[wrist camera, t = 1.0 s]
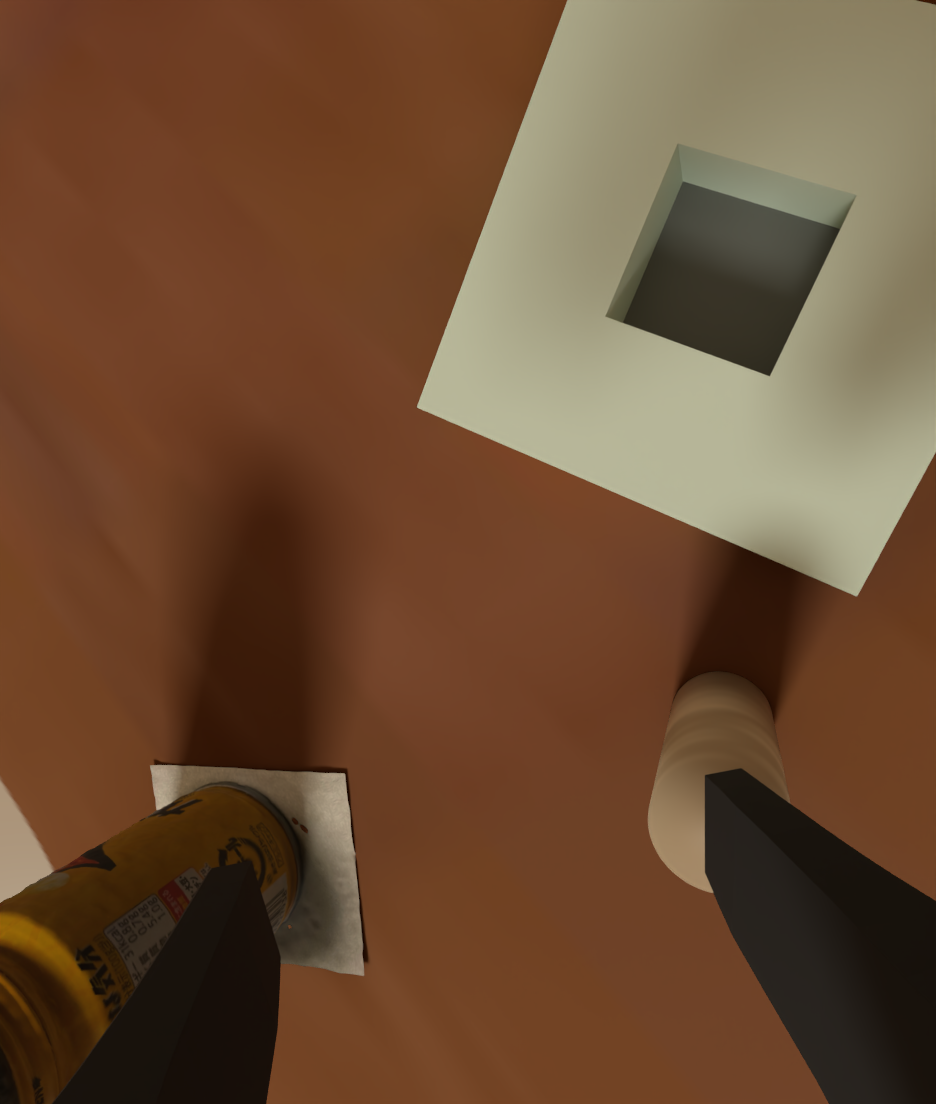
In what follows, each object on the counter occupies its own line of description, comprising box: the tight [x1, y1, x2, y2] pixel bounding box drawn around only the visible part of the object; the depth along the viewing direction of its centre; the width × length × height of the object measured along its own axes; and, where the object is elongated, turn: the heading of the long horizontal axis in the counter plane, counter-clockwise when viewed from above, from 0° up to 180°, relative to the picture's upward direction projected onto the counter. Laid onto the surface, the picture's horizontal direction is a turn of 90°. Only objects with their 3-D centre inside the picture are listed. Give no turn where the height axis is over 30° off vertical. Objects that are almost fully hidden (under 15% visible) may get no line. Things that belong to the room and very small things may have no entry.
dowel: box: [648, 671, 790, 893], centre depth 18 cm, size 3×3×7 cm
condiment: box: [0, 765, 364, 1104], centre depth 22 cm, size 7×8×12 cm
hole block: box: [417, 0, 936, 596], centre depth 19 cm, size 12×12×3 cm
